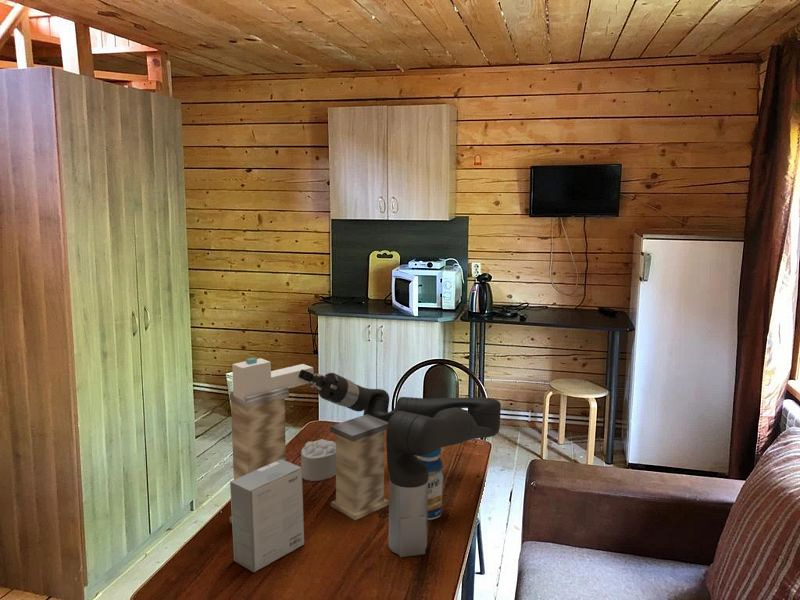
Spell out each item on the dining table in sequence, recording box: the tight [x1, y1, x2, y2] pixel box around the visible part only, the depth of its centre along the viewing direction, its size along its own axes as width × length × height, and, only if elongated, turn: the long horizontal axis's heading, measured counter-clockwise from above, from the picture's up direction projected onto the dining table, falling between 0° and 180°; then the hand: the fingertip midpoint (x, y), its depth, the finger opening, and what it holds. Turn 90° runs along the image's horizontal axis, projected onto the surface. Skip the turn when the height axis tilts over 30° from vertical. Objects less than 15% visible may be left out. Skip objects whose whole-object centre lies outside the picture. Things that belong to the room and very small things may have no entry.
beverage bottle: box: [415, 447, 444, 521], centre depth 172 cm, size 8×8×20 cm
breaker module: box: [231, 357, 314, 400], centre depth 166 cm, size 21×4×9 cm, turn 135°
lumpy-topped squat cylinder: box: [300, 438, 336, 482], centre depth 197 cm, size 10×13×9 cm
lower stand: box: [329, 414, 389, 521], centre depth 175 cm, size 13×10×23 cm
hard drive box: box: [229, 459, 305, 573], centre depth 153 cm, size 16×8×20 cm, turn 141°
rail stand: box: [229, 387, 290, 524], centre depth 166 cm, size 13×9×35 cm
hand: (294, 371), depth 171 cm, fingers closed on breaker module, 4 cm apart
